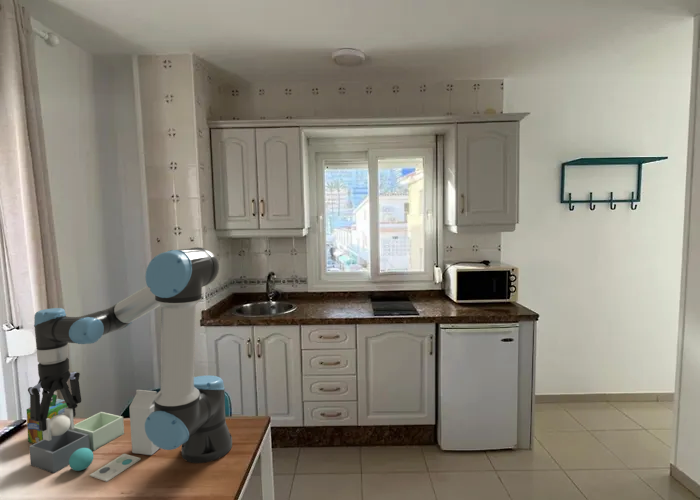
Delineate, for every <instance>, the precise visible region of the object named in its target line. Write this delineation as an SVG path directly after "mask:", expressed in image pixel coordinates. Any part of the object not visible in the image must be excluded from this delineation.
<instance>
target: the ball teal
mask: <svg viewBox="0 0 700 500" xmlns="http://www.w3.org/2000/svg"><path fill="white" fill-rule="evenodd" d="M93 460H94V453H93V450H90V449H88V448H80V449H78V450H76V451H75V452H74V453H73V454H72V455H71V456H70V459H69V465H68V466H69V468H71V470H73V471H76V472H77V471H79V472H80V471H84V470H86V469H87V468H89V467H90V466H91V464H92V463H93Z"/></svg>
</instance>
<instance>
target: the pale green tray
mask: <svg viewBox="0 0 700 500" xmlns="http://www.w3.org/2000/svg"><path fill="white" fill-rule="evenodd" d="M124 423H125V422H124V416H123V415H122V416H121V415H117V414H112V413H108V412H104V411H99V412H98V413H95V414H93V415H92V416H90V417H88V418H86V419H84V420H81V421H79V422H77V423H75V424H74V429H72V430H73V431H77V432H80V433H84V434H88V435H89V446H90V450H91V451H92V452H93V451H96V450H98V449H99V448H101V447H103V446H105V445H107V444H109V443H110V442H112V441H115V439H118V438H119V437H122V436H123V435H125V425H124Z"/></svg>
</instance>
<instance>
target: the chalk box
mask: <svg viewBox="0 0 700 500" xmlns="http://www.w3.org/2000/svg"><path fill="white" fill-rule="evenodd" d="M40 404H41V402H40ZM66 407H68V406H67V405H66V402H65V400H64V398H63V399H61V398H58V394H55V393H54V395H53V396H52V399H51V403H50V407H49V411H48V416H47V418H49V419H51V418H52V417H54V416H56V415H65V409H64V408H66ZM26 420H27V421H26V423H27V424H26V425H27V442H28V443H32V444H35V443H37V442H39V441H41V440H43V432H42V431H40V429H39V421H33V420H31V419H30V407H28V408H27V409H26ZM51 436H52V435H51Z"/></svg>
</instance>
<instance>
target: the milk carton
mask: <svg viewBox="0 0 700 500" xmlns="http://www.w3.org/2000/svg"><path fill="white" fill-rule="evenodd" d="M156 394H157V391H156V390H155V391H154V390H145V389H144V390H143V389H136V394H135V395H134V397H133V399H132V401H131V403H130V404H129V421H130V422H129V425H130V437H131V438H130V440H131V452H132V454H137V455H138V454H140V455H146V456H152V455H154V454H155V453H157V451H158V450H159V449H161V448H159V447H157V446H155V445H154V444H153V442H152V441H150V440H149V438H148V437H147V435H146V432H145V421H146V419H147V417H148V416H149V415H150V414H151V413H152V412H154V398H155V395H156Z"/></svg>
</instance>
